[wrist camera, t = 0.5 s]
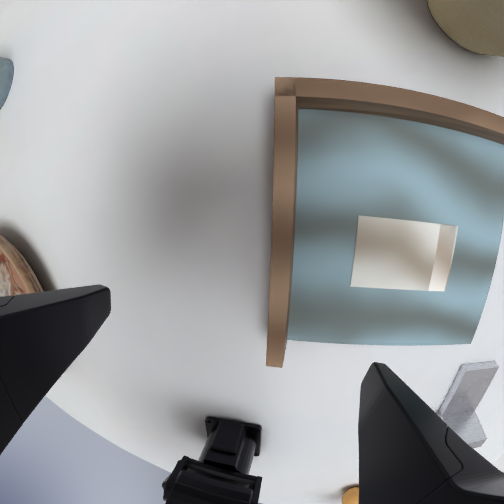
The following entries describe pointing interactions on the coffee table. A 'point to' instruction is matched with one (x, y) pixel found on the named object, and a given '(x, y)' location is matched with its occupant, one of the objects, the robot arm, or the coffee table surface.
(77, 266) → the coffee table surface
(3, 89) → the embossed green cup
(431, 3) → the plant pot
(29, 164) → the coffee table surface
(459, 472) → the robot arm
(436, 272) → the corner arena
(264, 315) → the coffee table surface
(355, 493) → the figurine
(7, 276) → the ceramic bowl
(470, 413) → the aluminium bracket
